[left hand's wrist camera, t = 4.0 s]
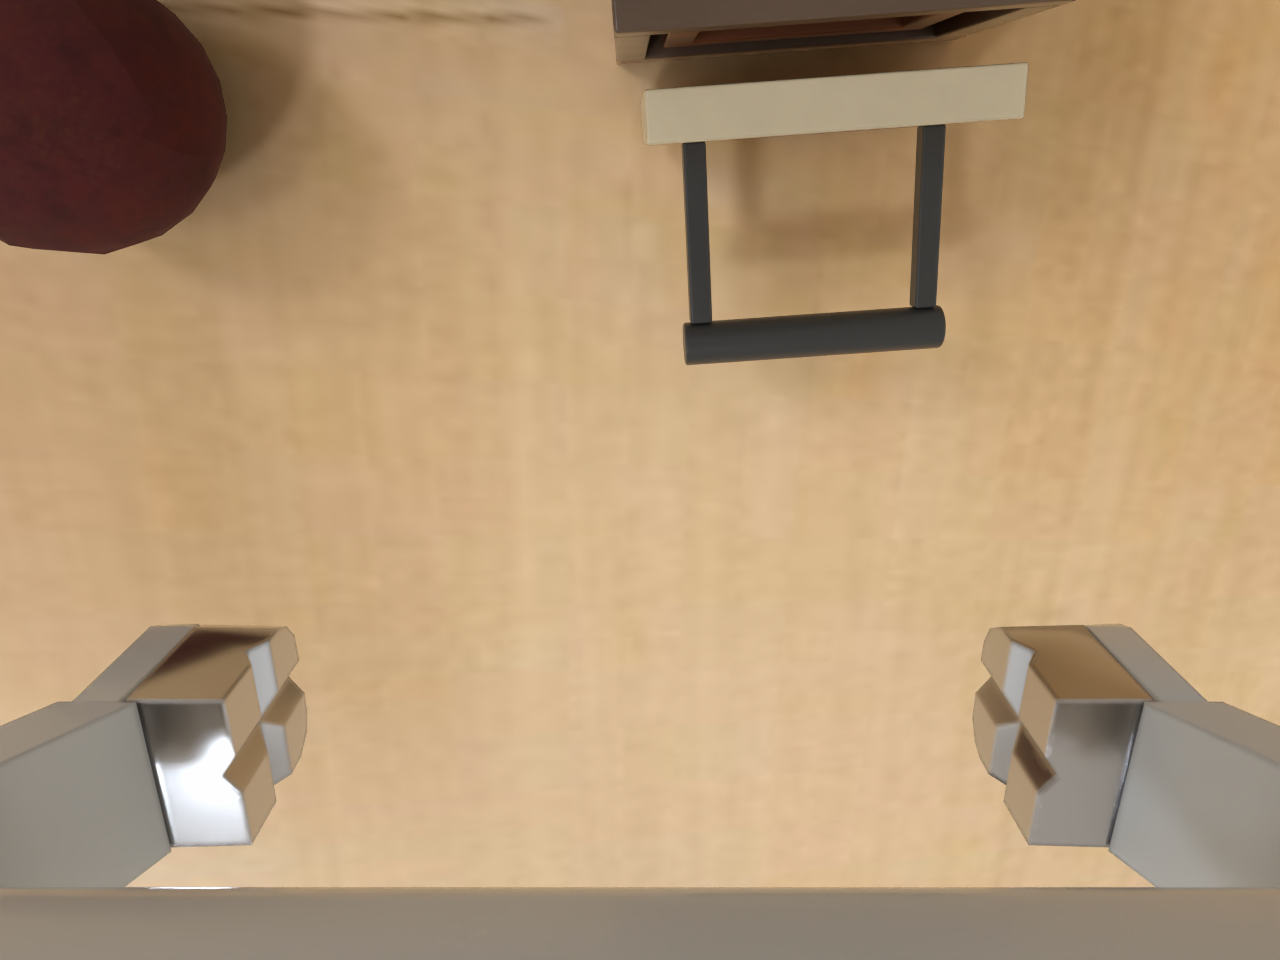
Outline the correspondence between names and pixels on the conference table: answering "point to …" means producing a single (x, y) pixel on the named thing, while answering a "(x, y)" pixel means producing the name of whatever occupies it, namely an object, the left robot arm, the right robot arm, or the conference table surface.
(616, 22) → the cabinet
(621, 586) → the conference table surface
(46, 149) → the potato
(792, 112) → the drawer
